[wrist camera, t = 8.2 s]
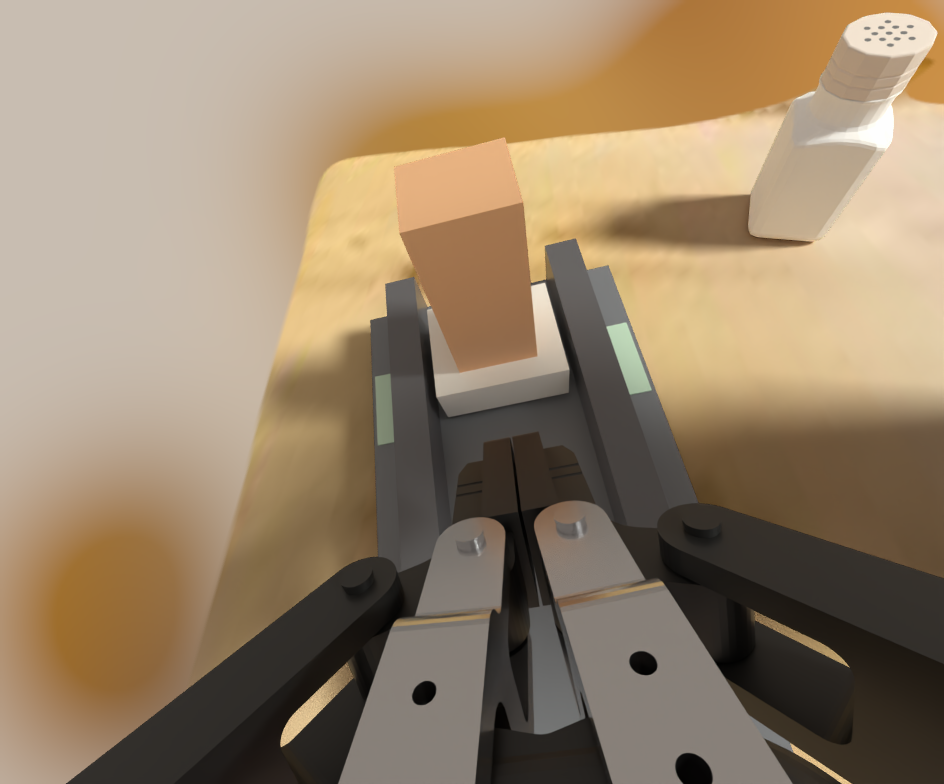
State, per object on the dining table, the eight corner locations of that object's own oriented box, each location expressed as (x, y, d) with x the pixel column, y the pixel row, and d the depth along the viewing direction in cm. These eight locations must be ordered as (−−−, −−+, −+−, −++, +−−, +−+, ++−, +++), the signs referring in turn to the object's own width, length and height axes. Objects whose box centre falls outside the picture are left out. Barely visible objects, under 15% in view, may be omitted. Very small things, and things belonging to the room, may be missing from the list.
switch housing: (772, 749, 16) (845, 798, 12) (404, 792, 17) (356, 848, 13) (605, 288, 26) (613, 229, 22) (382, 338, 27) (351, 292, 23)
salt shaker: (747, 193, 27) (830, 9, 19) (822, 197, 26) (945, 3, 18) (743, 240, 26) (831, 63, 17) (822, 247, 25) (957, 61, 16)
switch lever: (568, 392, 21) (574, 216, 12) (448, 417, 22) (360, 268, 12) (546, 311, 23) (536, 108, 14) (438, 335, 24) (358, 156, 14)
